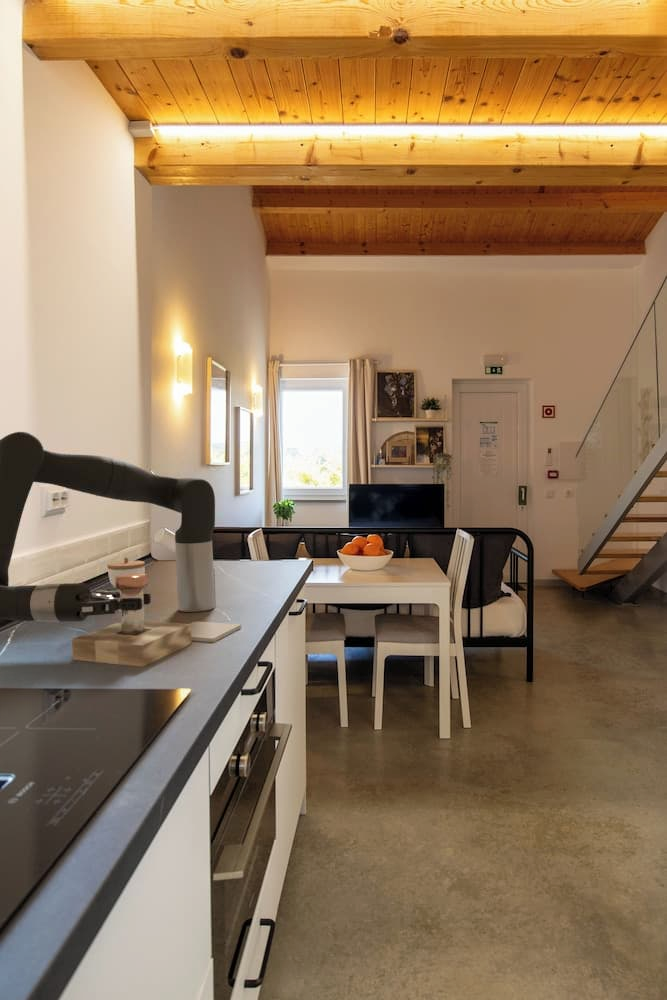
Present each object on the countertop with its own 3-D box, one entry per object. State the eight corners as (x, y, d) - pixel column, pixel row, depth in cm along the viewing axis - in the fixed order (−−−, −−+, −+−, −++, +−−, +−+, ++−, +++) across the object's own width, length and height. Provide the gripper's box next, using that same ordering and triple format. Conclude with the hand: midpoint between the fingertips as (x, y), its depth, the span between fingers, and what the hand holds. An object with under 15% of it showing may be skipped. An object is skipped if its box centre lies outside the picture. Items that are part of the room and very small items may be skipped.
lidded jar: (153, 587, 200) (152, 556, 200) (125, 593, 191) (123, 561, 191) (129, 584, 206) (128, 554, 205) (100, 590, 197) (99, 559, 196)
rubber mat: (194, 624, 151) (194, 621, 151) (241, 628, 147) (241, 624, 147) (164, 638, 140) (163, 634, 140) (213, 642, 136) (213, 638, 136)
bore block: (126, 638, 141) (125, 619, 140) (191, 643, 135) (190, 624, 135) (73, 659, 126) (71, 639, 125) (143, 666, 120) (142, 645, 120)
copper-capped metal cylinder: (131, 646, 134) (128, 573, 133) (156, 648, 132) (153, 574, 131) (111, 654, 129) (108, 578, 128) (137, 656, 127) (134, 579, 126)
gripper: (42, 590, 123) (132, 589, 122) (75, 577, 137) (156, 575, 137) (44, 630, 124) (134, 629, 123) (77, 613, 138) (158, 611, 137)
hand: (145, 601), depth 130 cm, fingers closed on copper-capped metal cylinder, 4 cm apart
